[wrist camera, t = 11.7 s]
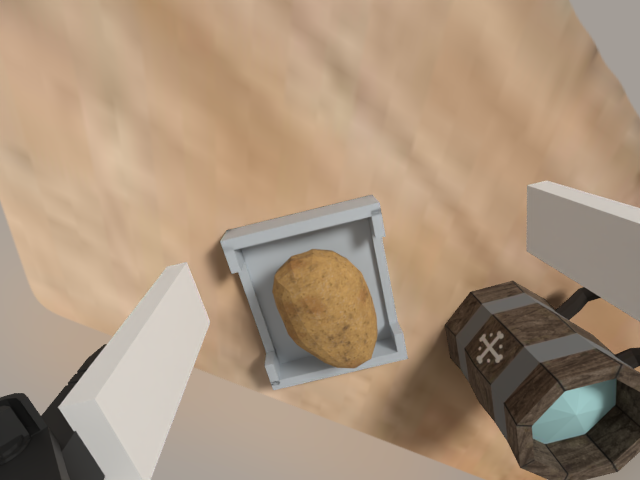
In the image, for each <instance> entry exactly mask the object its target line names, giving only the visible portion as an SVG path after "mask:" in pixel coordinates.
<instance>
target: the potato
mask: <svg viewBox="0 0 640 480" xmlns="http://www.w3.org/2000/svg"><path fill="white" fill-rule="evenodd" d="M272 293H273V296H274V300H275V303H276V307H277V309H278V311H279V314H280V316H281V318H282V320H283V323H284V325H285V328H286V330H287V333H288V335H289V336H290V337H291V338H292V340H293V341H294V342H295V343H296V344H297V345H298V346H299V347H300V348H302V349H304V350H305V351H307V352H309V353H310V354H312V355H313V356H315V357H316V358H318V359H320V360H321V361H323V362H324V363H326V364H329V365H331V366H334V367H337V368H357V367H358V366H360V365H361V364H363V363H365V362H366V361H368V360H370V359H371V358H372V354H373V351H374V348H375V344H376V341H377V335H378V329H377V316H376V312H375V308H374V304H373V300H372V297H371V294H370V291H369V288H368V286H367V284H366V281H365V279H364V277H363V275H362V272H361V271H359V270H358V269H357V268H356V267H355V266H354V265H353V264H352V263H351V262H350V261H349V260H348V259H347V258H345V257H343V256H341V255H340V254H338V253H336V252H334V251H332V250H321V249H311V250H309V251H307V252H304V253H300V254H297V255H294V256H291V257H290V258H289V259H288V260H287V261H286V262H285V263H284V264H283V265H282V266H281V267H280V268H279V269H278V270H277V272H276V274H275V276H274V283H273V290H272Z"/></svg>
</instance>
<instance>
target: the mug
mask: <svg viewBox="0 0 640 480" xmlns="http://www.w3.org/2000/svg"><path fill="white" fill-rule="evenodd" d="M598 298H601V297H599V296H598V295H596V294H595V293H593V292H591V291H590V290H588V289H587V288H585V287H583V288H580V289H578V290H577V291H576V292H575V293H574V294H573V295H572V296H571V297H570V298H569V299H568V300H567V301H565V302H564V303H563V304H562V305H561V306H559V307H558V308H557V309H556V310H555V309H554V308H553V307H552V306H551V305H550V304H549V303H548V302H547V301H546V300H545V299H544V298H542V297H540V296H538V295H537V294H535V293H533V292H531V291H530V290H528V289H526V288H524V287H523V286H521V285H519V284H517V283H516V282H514V281H510V282H507V283H503V284H499V285H495V286H491V287H488V288H484V289H480V290H476V291H472V292H470V293H469V295H468V296H467V297H466V299H465V300H464V301H463V302H462V304H461V305H460V306H459V308H458V309H457V310H456V311H455V313H454V314H453V315H452V317H451V318H450V319H449V320H448V322H447V323H446V324H445V328H446V334H447V340H448V346H449V352H450V358H451V359H452V360H453V361H454V362H455V364H456V365H457V366H458V367H459V368H460V369H461V371H462V372H463V374H464V375H465V377H466V378H467V380H468V382H469V383H470V385H471V387H472V389H473V391H474V393H475V395H476V397H477V399H478V401H479V403H480V404H481V405H482V406H483V408H484V409H485V410H486V411H487V413H488V414H489V415H490V416H491V418H492V419H493V420H494V422H495V423H496V424H497V426H498V428H499V429H500V431H501V432H502V434H503V435H504V437H505V438H506V440H507V441H508V443H509V445H510V447H511V450H512V452H513V454H514V456H515V458H516V460H517V462H518V464H519V466H520V468H522V469H525V470H527V471H529V472H532V473H534V474H536V475H539V476H541V477H544V478H546V479H548V480H586V479H590V478H594V477H598V476H602V475H606V474H610V473H614V472H618V471H619V470H620V469H621V468H622V467H624V466H625V465H626V464H627V463H628V462H629V461H630V460H631V459H632V458H633V457H635V456H636V455H637V454H638V453H639V452H640V373H639V372H638V371H636V370H634V368H636V367H638V366H640V348H630V349H627V350H625V351H623V352H620V353H618V354H616V355H615V354H613V353H612V352H611V351H610V350H609V349H608V348H607V347H605V346H604V345H603V344H602V343H601V342H600V341H599V340H598V339H597V338H596V337H594V336H593V335H592V334H590V333H589V332H587V331H585V330H584V329H582V328H580V327H579V326H577V325H575V324H574V323H572V322H570V321H569V320H570V319H571V318H572V317H573V316H574V315H576V314H577V313H578V312H579V311H580V310H581V309H582V308H583V307H584V306H585V304H586V303H587V302H588V301H591V300H594V299H598Z"/></svg>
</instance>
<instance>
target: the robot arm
mask: <svg viewBox="0 0 640 480" xmlns="http://www.w3.org/2000/svg"><path fill="white" fill-rule="evenodd" d="M527 252H529V253H530V254H532V255H534V256H535V257H537V258H539V259H540V260H542V261H543V262H545V263H547V264H548V265H550V266H551V267H553V268H555V269H556V270H558V271H559V272H561V273H563V274H564V275H566V276H567V277H569V278H571V279H572V280H574V281H575V282H577V283H579V284H580V285H582V286H583V287H585V288H587V289H588V290H590V291H591V292H593V293H595V294H596V295H598V296H599V297H601V298H603V299H604V300H606V301H607V302H609V303H611V304H612V305H614V306H615V307H617V308H619V309H620V310H622V311H623V312H625V313H627V314H628V315H630V316H631V317H633V318H635V319H636V320H638V321H639V322H640V208H637V207H634V206H631V205H627V204H624V203H620V202H617V201H614V200H610V199H607V198H604V197H600V196H597V195H594V194H590V193H587V192H583V191H580V190H577V189H573V188H570V187H567V186H563V185H560V184H557V183H553V182H550V181H544V182H539V183H535V184H530V185H527ZM209 324H210V320H209V318H208V315H207V312H206V310H205V307H204V305H203V302H202V300H201V297H200V295H199V292H198V289H197V287H196V284H195V282H194V279H193V277H192V274H191V272H190V269H189V267H188V264H187V262H185V263H181V264H176V265H172V266H168V267H166V269H165V270H164V271H163V273H162V274H161V275H160V276H159V278H158V279H157V280H156V282H155V283H154V284H153V285H152V287H151V288H150V289H149V291H148V292H147V293H146V294H145V296H144V297H143V298H142V300H141V301H140V302H139V304H138V305H137V306H136V307H135V309H134V310H133V311H132V313H131V314H130V315H129V316H128V318H127V319H126V320H125V322H124V323H123V324H122V325H121V327H120V328H119V329H118V331H117V332H116V333H115V334H114V336H113V337H112V338H111V340H110V341H109V342H108V344H105V345H103V346H102V347H101V348H100V349H98V350H97V351H96V352H95V353H94V354H92V355H91V356H90V357H89V358H88V359H87V360H86V361H85V363H84V364H83V365H82V366H81V367H80V369H79V370H78V371H77V372H78V373H77V374H75V375H74V376H73V377H72V379H71V380H70V381H69V382H68V385H67V386H65V387H64V389H63V390H62V391H61V393H59V395H58V396H57V397H56V399H55V400H54V401H53V402H52V403H51V405H50V406H49V407H48V408H47V410H46V411H45V412H44V413H43V414H42V416H40V414H39V413H38V411H37V410H36V409H35V407H34V406H33V404H32V403H31V401H30V400H29V398H28V397H27V396H26V395H25V394H23V393H14V394H11V395H7V396H4V397H1V398H0V480H104V478H105V479H106V480H151V478H152V475H153V472H154V470H155V467H156V464H157V461H158V459H159V456H160V454H161V451H162V448H163V446H164V443H165V441H166V438H167V435H168V433H169V430H170V427H171V424H172V422H173V419H174V417H175V414H176V411H177V409H178V406H179V404H180V401H181V398H182V396H183V393H184V390H185V388H186V385H187V382H188V379H189V377H190V374H191V372H192V369H193V366H194V364H195V361H196V359H197V356H198V353H199V351H200V348H201V345H202V343H203V340H204V337H205V335H206V332H207V329H208V327H209Z"/></svg>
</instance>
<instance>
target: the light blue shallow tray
mask: <svg viewBox="0 0 640 480" xmlns="http://www.w3.org/2000/svg"><path fill="white" fill-rule="evenodd" d="M382 237H385V230H384V225H383V219H382V214H381V208H380V203H379V201H378V200H377V199H376V198H375V197H374V196H373V195H369V196H365V197H361V198H357V199H352V200H348V201H344V202H340V203H336V204H332V205H328V206H324V207H320V208H316V209H312V210H308V211H304V212H300V213H295V214H291V215H287V216H283V217H279V218H275V219H271V220H267V221H263V222H259V223H255V224H251V225H247V226H243V227H239V228H234V229H230V230H227V231H226V233H225V234H224V236H223V237H222V239H221V241H220V243H221V245H222V248H223V251H224V254H225V257H226V259H227V262H228V265H229V268H230V271H231V273H232V274H233V273H237V272H238V273H239V276H240V279H241V282H242V285H243V288H244V291H245V293H246V296H247V299H248V302H249V305H250V308H251V311H252V313H253V316H254V319H255V322H256V325H257V328H258V331H259V333H260V336H261V339H262V342H263V345H264V348H265V351H266V359H265V368H266V371H267V374H268V377H269V379H270V382H271V385H272V388H273V390H277V389H281V388H285V387H290V386H294V385H298V384H302V383H307V382H311V381H315V380H319V379H324V378H328V377H332V376H336V375H341V374H345V373H349V372H353V371H358V370H362V369H366V368H370V367H375V366H379V365H383V364H387V363H392V362H396V361H400V360H404V359H408V357H407V351H406V346H405V340H404V335H403V332H402V330H401V328H400V326H399V323H398V321H397V316H396V310H395V305H394V299H393V294H392V289H391V283H390V278H389V273H388V267H387V262H386V256H385V251H384V246H383V240H382ZM311 249H321V250H332V251H334V252H336V253H338V254H340V255H341V256H343V257H345V258H347V259H348V260H349V261H350V262H351V263H352V264H353V265H354V266H355V267H356V268H357V269H358V270H359V271H361V272H362V275H363V277H364V279H365V281H366V284H367V286H368V288H369V291H370V294H371V297H372V300H373V304H374V308H375V312H376V316H377V329H378V335H377V341H376V344H375V348H374V351H373V354H372V358H371V359H370V360H368V361H366V362H365V363H363V364H361V365H360V366H358V367H357V368H337V367H334V366H331V365H329V364H326V363H324V362H323V361H321V360H320V359H318V358H316V357H315V356H313V355H312V354H310V353H309V352H307V351H305V350H304V349H302V348H300V347H299V346H298V345H297V344H296V343H295V342H294V341H293V340H292V338H291V337H290V336H289V335H288V333H287V330H286V328H285V325H284V323H283V320H282V318H281V316H280V314H279V311H278V309H277V307H276V303H275V300H274V296H273V293H272V290H273V283H274V276H275V274H276V272H277V270H278V269H279V268H280V267H281V266H282V265H283V264H284V263H285V262H286V261H287V260H288V259H289V258H290V257H291V256H294V255H297V254H300V253H304V252H307V251H309V250H311Z"/></svg>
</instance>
